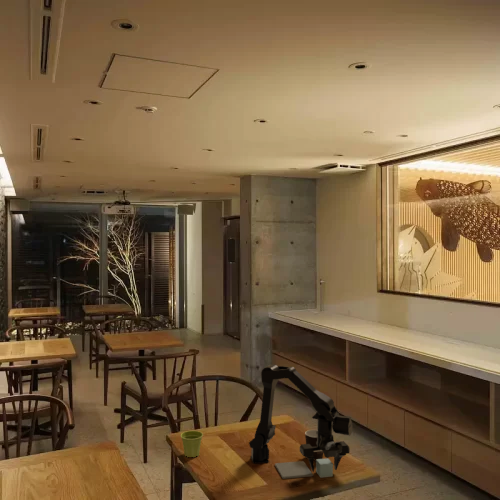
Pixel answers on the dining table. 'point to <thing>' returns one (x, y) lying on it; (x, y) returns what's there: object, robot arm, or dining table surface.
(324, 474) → the cube
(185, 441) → the plant pot
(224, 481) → the dining table surface
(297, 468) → the coaster
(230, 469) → the dining table surface
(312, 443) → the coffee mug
